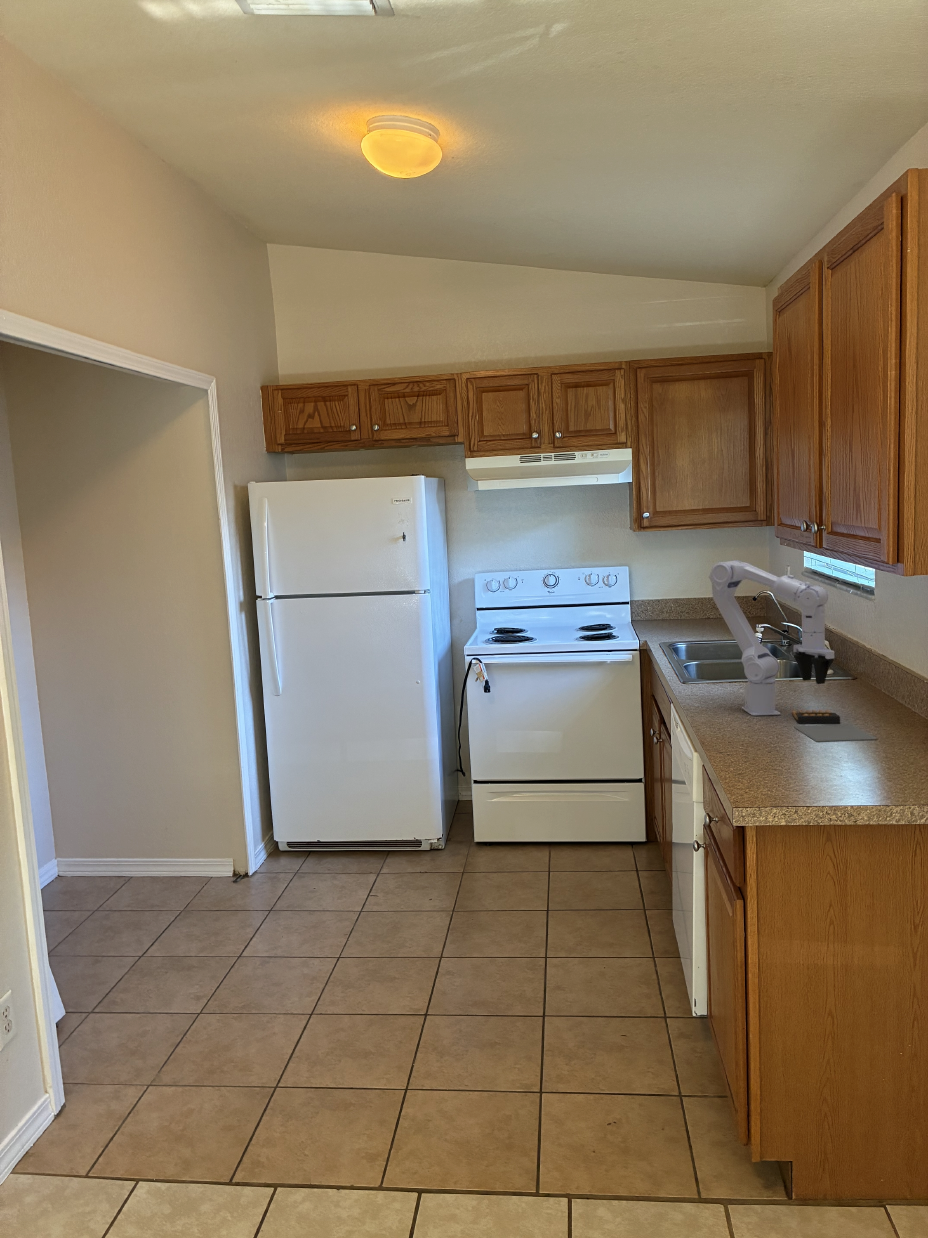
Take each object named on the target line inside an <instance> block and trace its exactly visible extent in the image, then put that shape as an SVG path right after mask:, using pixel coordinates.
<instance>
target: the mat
mask: <svg viewBox="0 0 928 1238" xmlns="http://www.w3.org/2000/svg"><path fill="white" fill-rule="evenodd" d="M793 728H794V729H796V731H799V732H800V733H802V734H804V736H807V737H808V738H809V739H811V740H813V741H814V742H816V743H827V742H828V743H830V742H831V743H832V742H833V743H835V742H855V741H858V742H860V741H878V738H877V737H875V736H873V735H871V734H869V733H867V731H864V730H862V729H860V728H858V727H857V726H855V725H853V724H851V723H848V724H821V725H820V724H819V725H818V724H816V725H794V726H793Z"/></svg>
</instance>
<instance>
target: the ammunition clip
mask: <svg viewBox="0 0 928 1238" xmlns="http://www.w3.org/2000/svg"><path fill="white" fill-rule="evenodd" d="M791 714H792V716H793V717H794V720H795V721H796V722H797V724H841V716H840V715H838V714H837V713H836V712H832V711H831V710H828V709H827V710H825V711H824V710H820V709H819V710H817V711H816V710H815V709H814V710H812V711H810V710H808V709H807V710H805V711H804V710H801V709H800V710H798V711H796V710H791Z"/></svg>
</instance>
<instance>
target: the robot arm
mask: <svg viewBox="0 0 928 1238" xmlns="http://www.w3.org/2000/svg"><path fill="white" fill-rule="evenodd" d="M708 578H709V580H710V582H711V592H712V593H711V594H712V600H713V601H714V603H715V605H716V606H717V609H718V610H719V613H720V614H721V616H722V618H723V620H724V621H725V623H726V625H727V627H728V628H729V630H730V632H731V634H732V637H733V638H734V640H735V642H736V644H737V645H738V647H739V649H740V651H741V652H742V655H741V663H742V666H743V669H744V671H743V672H744V675H745V677H746V678H747V679H748V681H747V683H746V684H745V686H744V694H745V696H744V706H741V709H743V710H744V711H745V712H746V713H748V714H750V715H751V716H772V715H773V716H776V715H779V716H780V715H781V712H779V710H776V676H777V675H778V674H779V672H780V670H781V666H780V662H779V660H778V659H777V658H776V657H775V656H774V655H772V654H771V652H770V651H769V649H768V648H767V647H765V646H763V645H762V644H761V642H760V641H759V639H758V637H757V635H756V634H755V632H754V630H753V628H752V626H751V625H750V623H749V621H748V619H747V617H746V616H745V614H744V612H743V609H742V608H741V606H740V605H739V603H738V601H737V599H736V598H735V595H736V592H737V589H738V588H739V586H740V585H741V583H742V582H743V581H744V580H748V581H752V582H754V583H757V584H759V585H763V586H765V587H767V588H771V589H774V592H775V594H776V595H777V596H779V597H782V598H784V599H787V600H789V601H791V602H794V603H796V604H798V605H799V607H800V608H801V644H800V643H799V644H793V653H797V654H793V658H794V659H795V661H796V663H797V665H798V668H799V671H800V672H799V673H800V675H801V679H802V681H811V680H812V674H813V668H814V675H815V678H814V679H815V682H816V685H823V684H825V683H826V679H827V675H828V672H829V670H830V667H831V666H832V665H833V662H834V661H835V651H834V650H832V649H829V648H827V647H826V638H825V637H826V630H825V629H826V627H825V626H826V619H825V617H826V613H825V611H826V609H825V605H826V604H827V602H828V600H829V594H828V591H827V590H826V589H825V588H824V587H822V586H821V585H819V584H817V585H815V584H814V585H813V586H812V585H811V582H809V581H805V582H804V581H801V580H799V579H797V578H795V576H794V575H792V574H787V575H786V574H785V575H782V576H779V577H778V576H777V575H774V574H773V573H770V572H767V571H765V570H763V569H761V568H759V567H756V566H755V565H752V564H751V563H748V562H744V561H743V562H742V561H741V560H739V559H734V560H729V561H720V562H719V561H718V562H716V563H715V564H713V566H712V568H711V569H710V571H709V575H708Z"/></svg>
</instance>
